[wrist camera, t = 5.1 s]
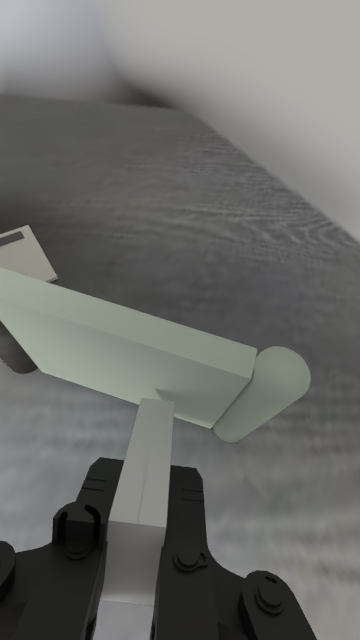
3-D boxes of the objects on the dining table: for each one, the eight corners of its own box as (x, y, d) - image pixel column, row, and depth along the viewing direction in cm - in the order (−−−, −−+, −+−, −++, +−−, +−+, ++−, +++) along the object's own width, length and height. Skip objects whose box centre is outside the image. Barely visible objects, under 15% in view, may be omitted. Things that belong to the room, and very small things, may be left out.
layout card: (-54, 256, 23) (-57, 252, 23) (29, 227, 25) (27, 223, 25) (-31, 315, 21) (-34, 312, 21) (58, 278, 23) (56, 275, 23)
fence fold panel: (38, 378, 19) (-31, 298, 12) (55, 348, 20) (0, 258, 13) (243, 447, 18) (307, 409, 11) (249, 413, 19) (313, 356, 12)
